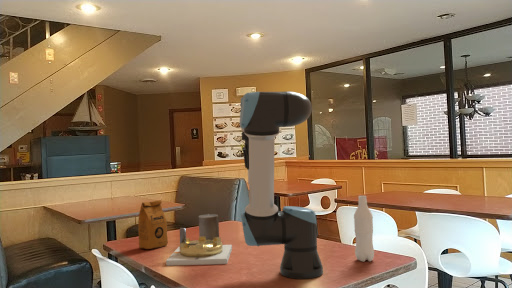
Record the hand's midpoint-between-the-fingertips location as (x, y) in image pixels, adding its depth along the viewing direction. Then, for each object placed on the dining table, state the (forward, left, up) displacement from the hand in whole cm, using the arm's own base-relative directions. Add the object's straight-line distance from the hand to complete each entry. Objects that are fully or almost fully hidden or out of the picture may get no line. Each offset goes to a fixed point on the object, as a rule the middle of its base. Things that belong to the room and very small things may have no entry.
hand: (251, 184), depth 178 cm
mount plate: (-9, +22, -29) cm, 38 cm away
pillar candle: (+15, +22, -30) cm, 40 cm away
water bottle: (-21, -44, -30) cm, 57 cm away
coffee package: (+11, +48, -30) cm, 57 cm away
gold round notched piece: (-9, +22, -27) cm, 36 cm away
